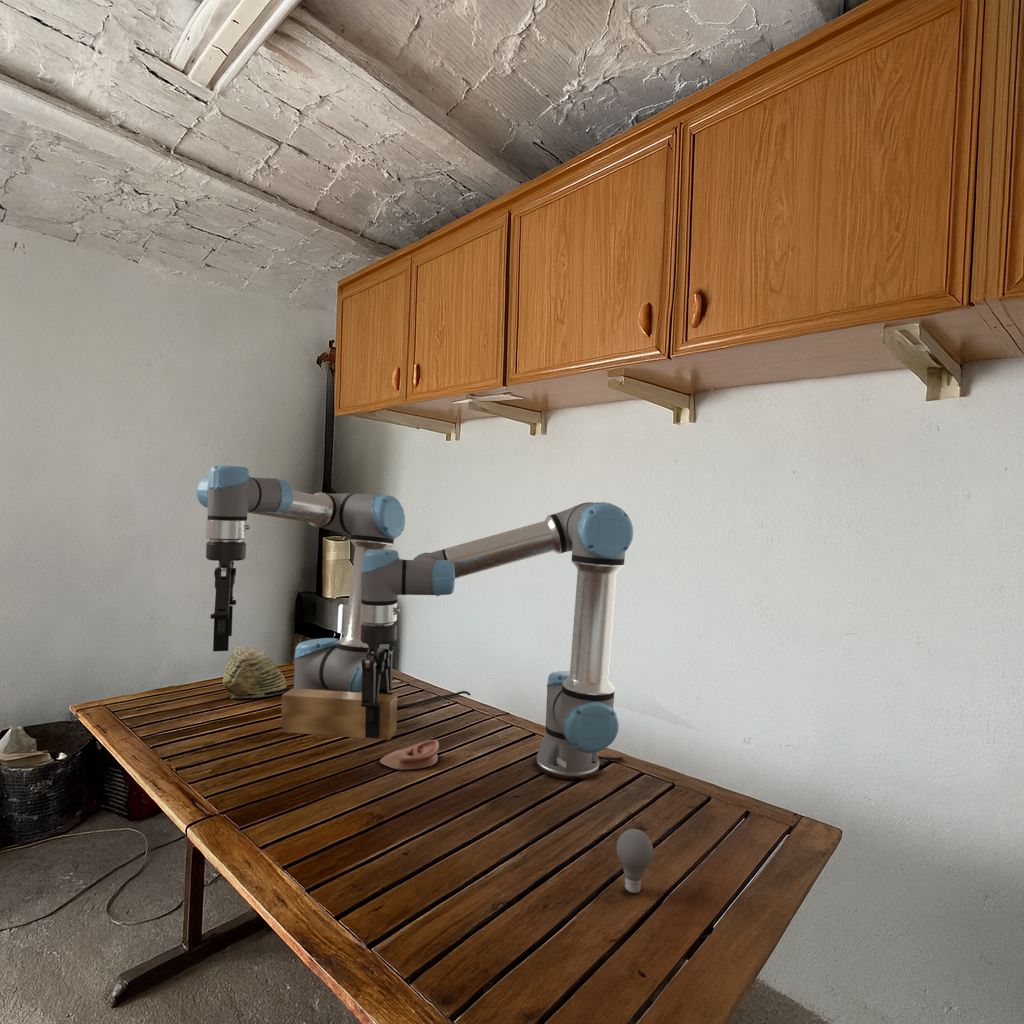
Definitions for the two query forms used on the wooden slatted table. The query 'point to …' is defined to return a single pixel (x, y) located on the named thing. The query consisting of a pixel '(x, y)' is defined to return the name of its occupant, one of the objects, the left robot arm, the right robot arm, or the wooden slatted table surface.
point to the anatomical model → (413, 756)
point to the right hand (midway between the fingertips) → (376, 732)
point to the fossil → (252, 674)
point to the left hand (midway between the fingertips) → (222, 643)
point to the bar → (334, 713)
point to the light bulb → (634, 857)
